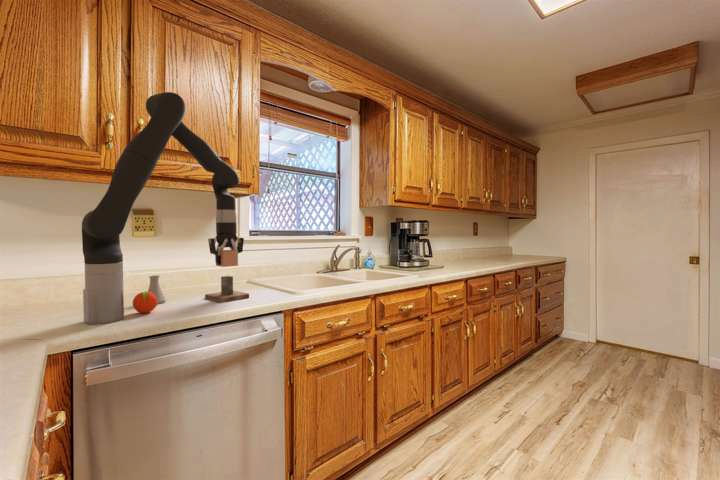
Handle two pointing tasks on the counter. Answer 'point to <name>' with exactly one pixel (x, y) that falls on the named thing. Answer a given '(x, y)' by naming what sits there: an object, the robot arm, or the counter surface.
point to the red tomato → (144, 302)
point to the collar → (229, 258)
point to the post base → (226, 297)
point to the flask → (156, 289)
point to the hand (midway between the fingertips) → (227, 264)
